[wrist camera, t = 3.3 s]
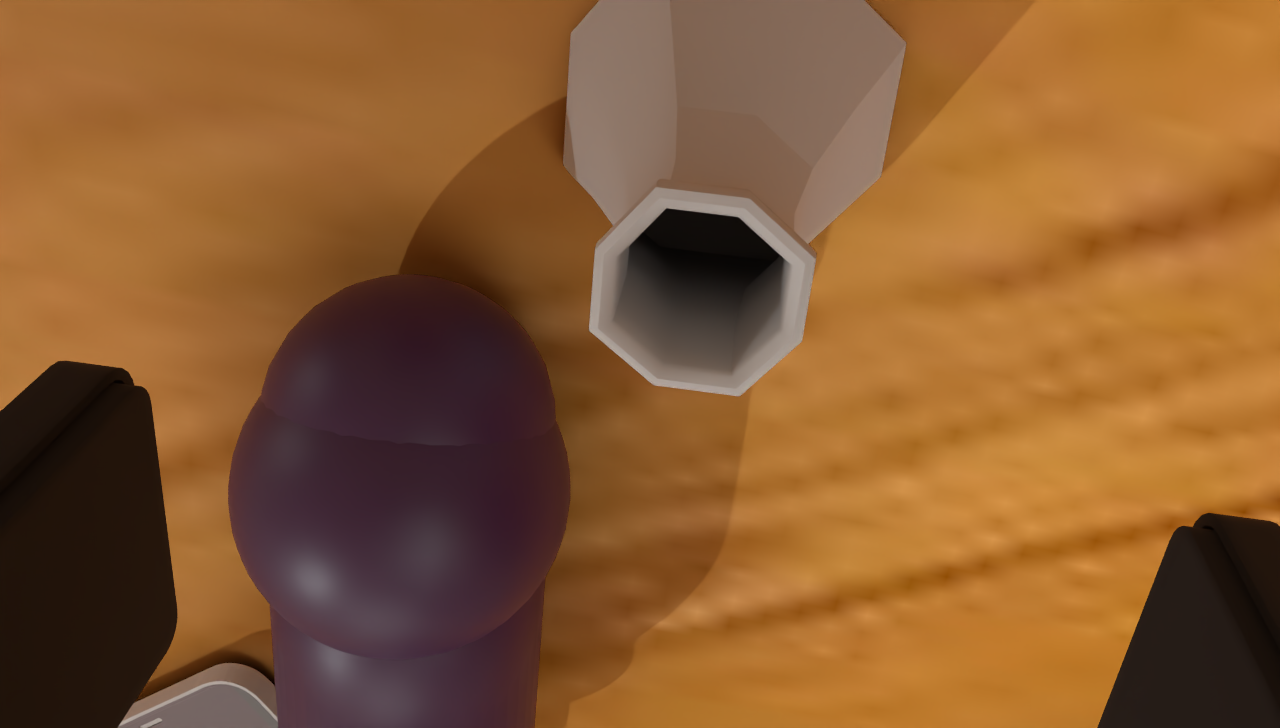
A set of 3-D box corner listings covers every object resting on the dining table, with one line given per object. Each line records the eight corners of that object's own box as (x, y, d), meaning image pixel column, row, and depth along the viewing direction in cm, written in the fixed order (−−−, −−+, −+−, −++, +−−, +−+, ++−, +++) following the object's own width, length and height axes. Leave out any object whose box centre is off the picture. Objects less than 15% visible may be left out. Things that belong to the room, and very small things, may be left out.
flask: (803, 308, 28) (812, 578, 19) (513, 179, 27) (380, 396, 18) (967, 17, 24) (1072, 180, 15) (641, -140, 23) (555, -64, 15)
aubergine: (607, 252, 27) (552, 414, 21) (558, 807, 36) (508, 1044, 30) (292, 210, 28) (142, 358, 21) (318, 770, 36) (217, 996, 30)
